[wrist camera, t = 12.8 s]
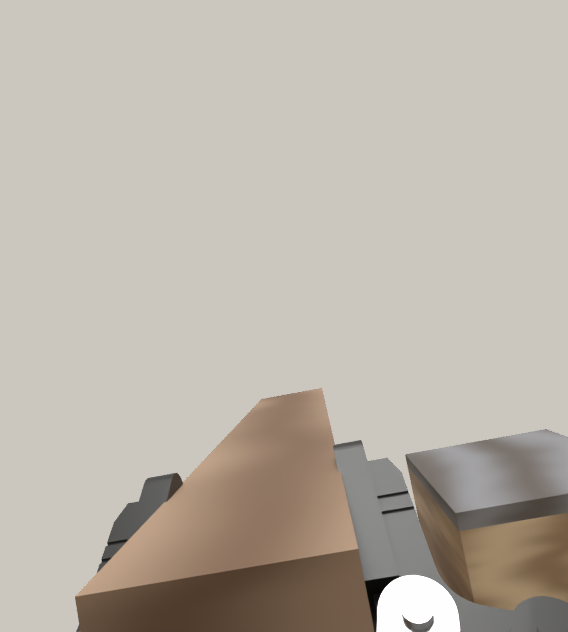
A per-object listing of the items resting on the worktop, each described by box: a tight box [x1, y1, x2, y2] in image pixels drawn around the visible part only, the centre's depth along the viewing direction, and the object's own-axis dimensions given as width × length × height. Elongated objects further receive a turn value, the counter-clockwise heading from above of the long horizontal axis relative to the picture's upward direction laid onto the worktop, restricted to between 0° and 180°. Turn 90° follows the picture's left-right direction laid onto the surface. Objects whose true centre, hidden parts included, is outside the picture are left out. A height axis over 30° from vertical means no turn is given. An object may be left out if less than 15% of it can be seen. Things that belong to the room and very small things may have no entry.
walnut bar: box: [75, 388, 374, 632], centre depth 18 cm, size 4×24×4 cm, turn 176°
